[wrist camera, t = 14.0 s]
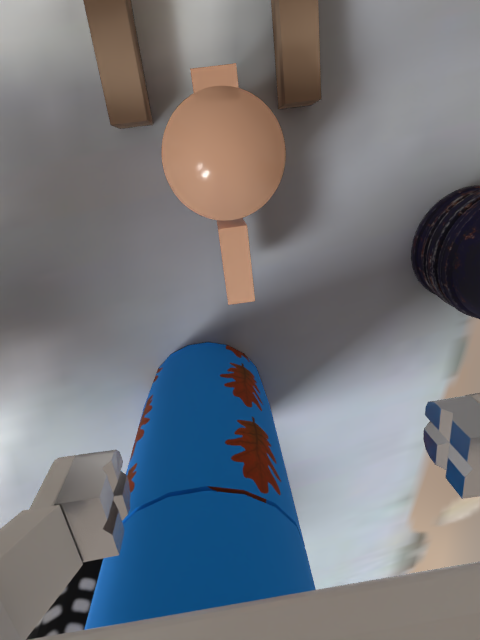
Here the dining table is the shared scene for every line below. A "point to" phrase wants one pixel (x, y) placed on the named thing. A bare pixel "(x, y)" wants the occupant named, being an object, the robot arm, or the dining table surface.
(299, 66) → the brown block arch
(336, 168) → the dining table surface
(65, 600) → the white-spotted black cylinder
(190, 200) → the tan rounded piece
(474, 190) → the storage jar
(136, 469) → the thermos
